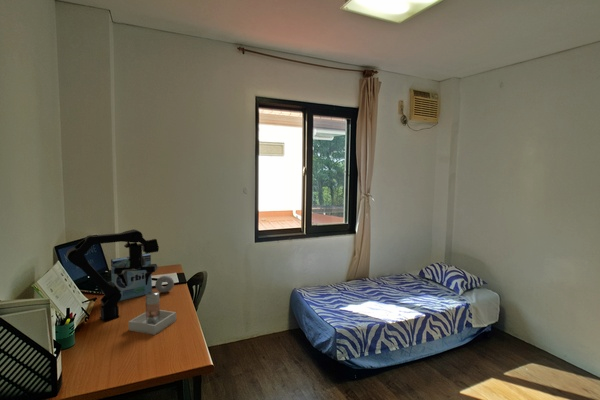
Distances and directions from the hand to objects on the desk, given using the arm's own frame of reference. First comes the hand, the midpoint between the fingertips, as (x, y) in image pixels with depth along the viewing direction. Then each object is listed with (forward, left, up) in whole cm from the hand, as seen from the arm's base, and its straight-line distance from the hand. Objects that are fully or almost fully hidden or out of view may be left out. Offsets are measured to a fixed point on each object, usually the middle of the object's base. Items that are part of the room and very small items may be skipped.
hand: (136, 285), depth 157 cm
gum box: (+8, +20, -13) cm, 25 cm away
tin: (-4, -21, -12) cm, 24 cm away
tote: (-4, -21, -13) cm, 25 cm away
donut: (+22, +11, -13) cm, 28 cm away
